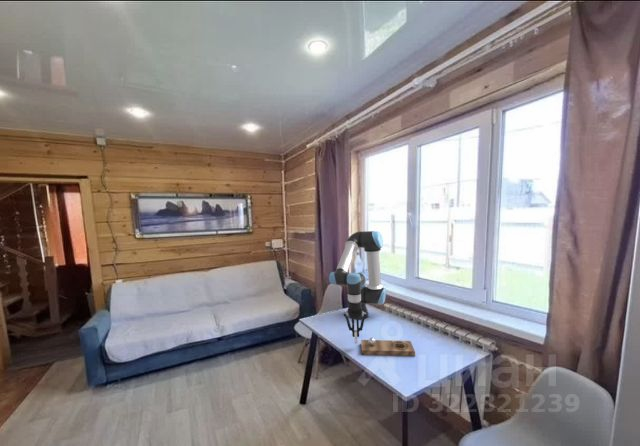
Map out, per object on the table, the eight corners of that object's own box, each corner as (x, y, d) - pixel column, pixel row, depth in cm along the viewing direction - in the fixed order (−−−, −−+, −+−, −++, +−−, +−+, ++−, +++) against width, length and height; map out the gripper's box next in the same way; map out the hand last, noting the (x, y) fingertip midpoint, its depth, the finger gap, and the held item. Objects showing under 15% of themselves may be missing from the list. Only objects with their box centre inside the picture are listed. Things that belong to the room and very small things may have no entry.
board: (361, 354, 145) (361, 350, 145) (361, 344, 157) (361, 339, 157) (415, 356, 141) (415, 351, 141) (410, 345, 153) (410, 340, 153)
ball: (368, 343, 152) (368, 336, 152) (375, 343, 152) (375, 336, 152) (368, 346, 148) (368, 339, 148) (376, 346, 148) (375, 339, 148)
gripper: (342, 303, 148) (344, 345, 148) (366, 303, 146) (368, 345, 147) (343, 299, 155) (344, 339, 156) (365, 299, 153) (367, 339, 154)
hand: (356, 342), depth 151 cm, fingers closed
